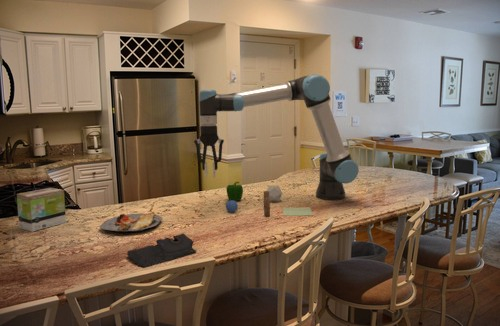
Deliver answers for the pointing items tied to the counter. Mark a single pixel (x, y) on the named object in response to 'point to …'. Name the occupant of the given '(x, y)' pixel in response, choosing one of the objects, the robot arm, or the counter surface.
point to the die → (274, 193)
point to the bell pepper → (234, 192)
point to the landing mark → (297, 211)
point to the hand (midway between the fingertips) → (210, 176)
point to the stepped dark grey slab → (162, 251)
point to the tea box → (41, 209)
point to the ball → (231, 206)
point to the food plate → (131, 222)
